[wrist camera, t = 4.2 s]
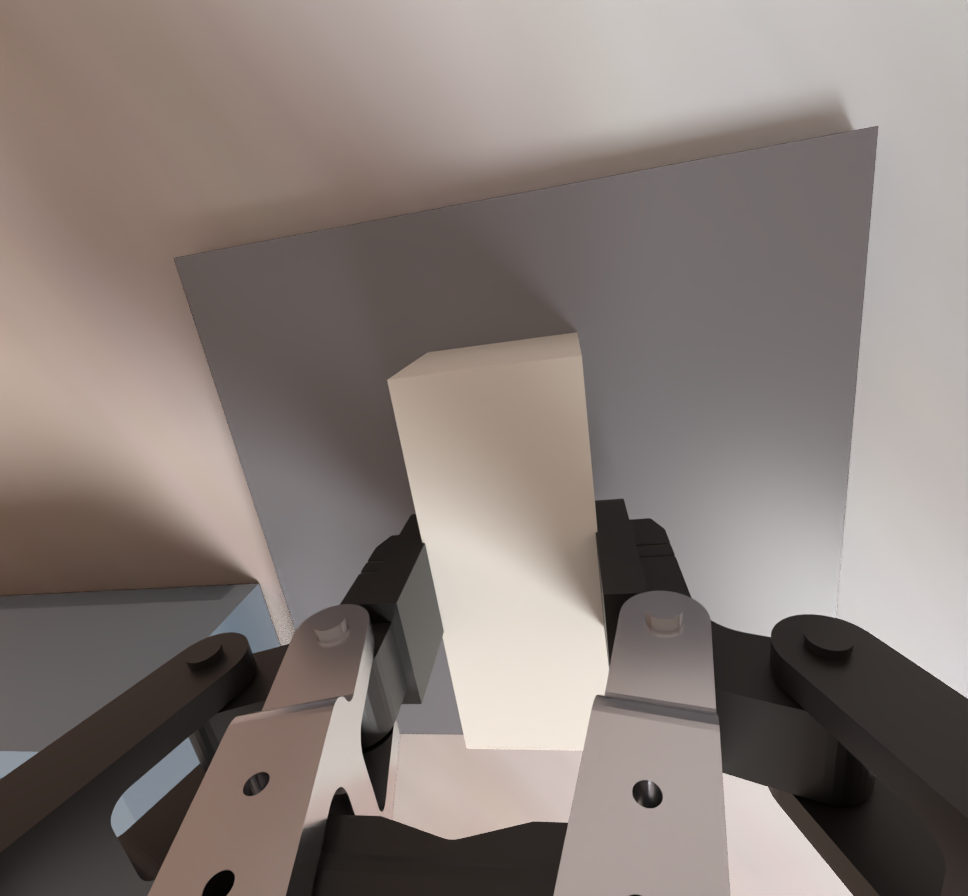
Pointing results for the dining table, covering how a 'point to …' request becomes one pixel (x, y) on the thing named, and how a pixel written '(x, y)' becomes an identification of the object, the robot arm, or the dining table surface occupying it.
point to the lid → (556, 407)
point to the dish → (108, 664)
